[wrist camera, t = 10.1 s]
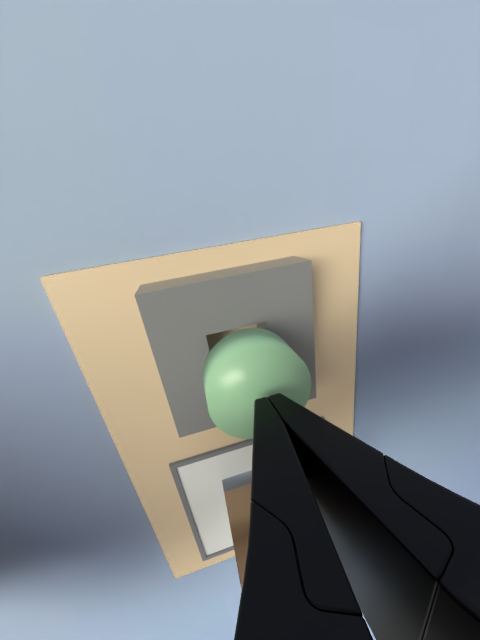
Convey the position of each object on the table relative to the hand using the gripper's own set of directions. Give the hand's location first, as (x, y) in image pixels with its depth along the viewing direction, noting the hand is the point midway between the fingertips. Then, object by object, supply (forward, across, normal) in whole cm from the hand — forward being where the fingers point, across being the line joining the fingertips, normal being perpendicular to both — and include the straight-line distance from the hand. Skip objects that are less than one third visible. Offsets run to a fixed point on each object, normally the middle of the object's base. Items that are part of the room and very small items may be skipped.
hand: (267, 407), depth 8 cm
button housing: (+5, 0, 0) cm, 5 cm away
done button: (+4, 0, 0) cm, 4 cm away
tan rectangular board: (+5, 0, +6) cm, 8 cm away
